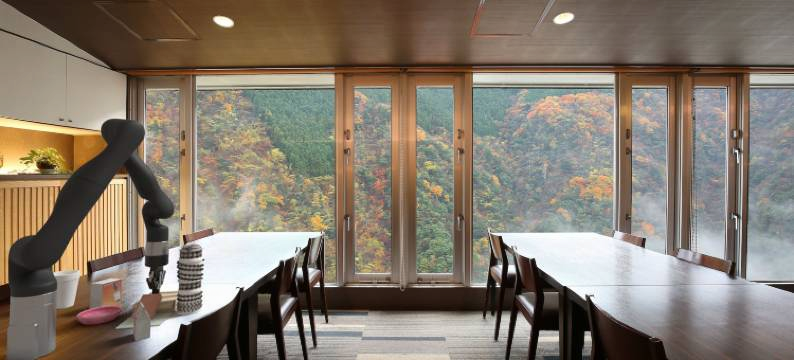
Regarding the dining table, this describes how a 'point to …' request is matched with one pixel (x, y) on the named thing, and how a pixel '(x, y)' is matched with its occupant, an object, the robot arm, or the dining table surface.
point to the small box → (106, 293)
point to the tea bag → (141, 323)
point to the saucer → (99, 315)
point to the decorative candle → (190, 280)
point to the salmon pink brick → (150, 303)
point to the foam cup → (66, 287)
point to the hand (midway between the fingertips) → (155, 298)
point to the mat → (156, 321)
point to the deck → (164, 302)
